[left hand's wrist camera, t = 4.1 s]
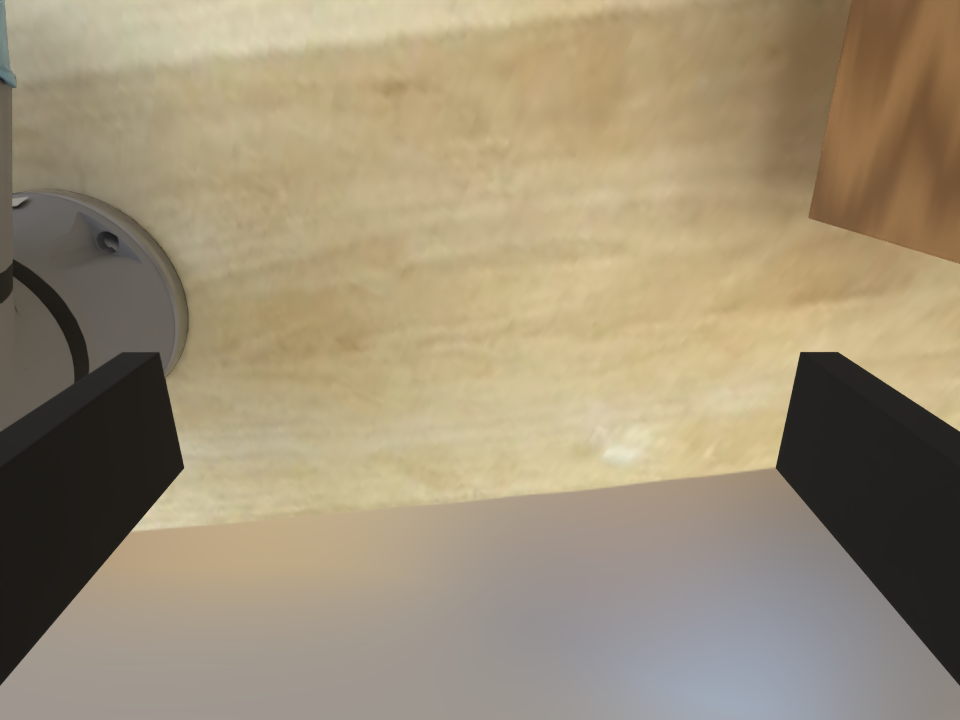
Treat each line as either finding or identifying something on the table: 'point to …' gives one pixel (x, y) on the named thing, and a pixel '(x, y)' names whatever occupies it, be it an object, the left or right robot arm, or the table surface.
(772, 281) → the table surface
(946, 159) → the box
